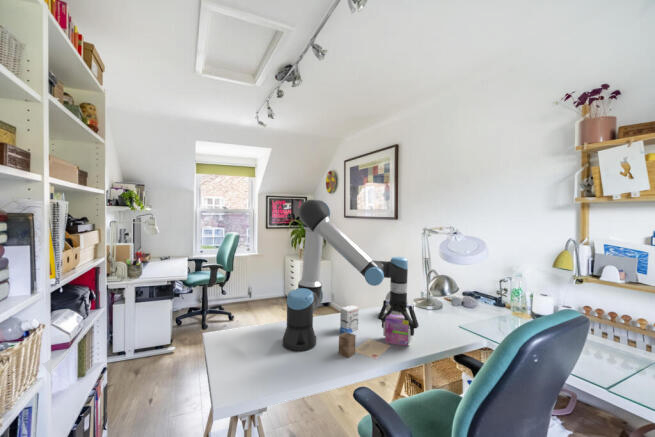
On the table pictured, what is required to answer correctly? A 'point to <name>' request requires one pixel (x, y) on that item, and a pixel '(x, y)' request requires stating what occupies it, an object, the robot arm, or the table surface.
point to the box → (396, 330)
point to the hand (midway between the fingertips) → (397, 338)
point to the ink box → (349, 319)
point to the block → (347, 344)
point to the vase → (390, 306)
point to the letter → (372, 348)
